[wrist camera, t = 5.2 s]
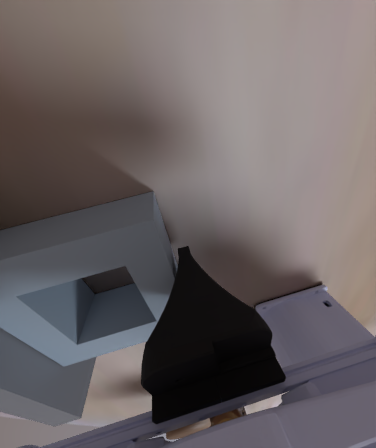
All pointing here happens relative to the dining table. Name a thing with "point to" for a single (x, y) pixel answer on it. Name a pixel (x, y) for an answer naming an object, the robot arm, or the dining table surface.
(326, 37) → the dining table surface
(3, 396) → the wall
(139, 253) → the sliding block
